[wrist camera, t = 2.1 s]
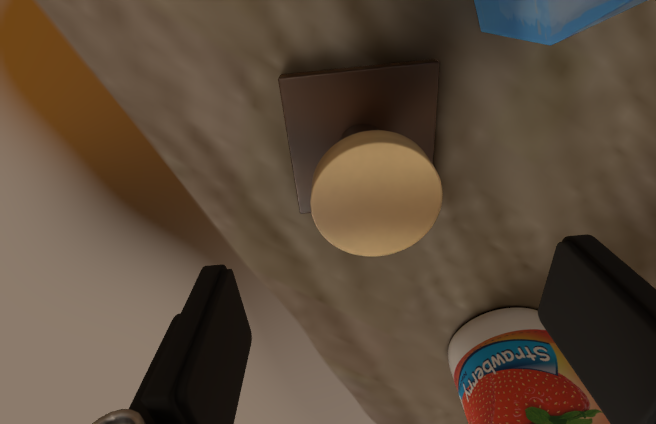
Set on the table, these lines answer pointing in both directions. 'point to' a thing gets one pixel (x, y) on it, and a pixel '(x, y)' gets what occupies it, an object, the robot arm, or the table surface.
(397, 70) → the stand
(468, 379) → the white yogurt drink bottle
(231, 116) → the table surface
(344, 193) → the chip
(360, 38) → the table surface
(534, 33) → the perfume bottle
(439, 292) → the table surface
